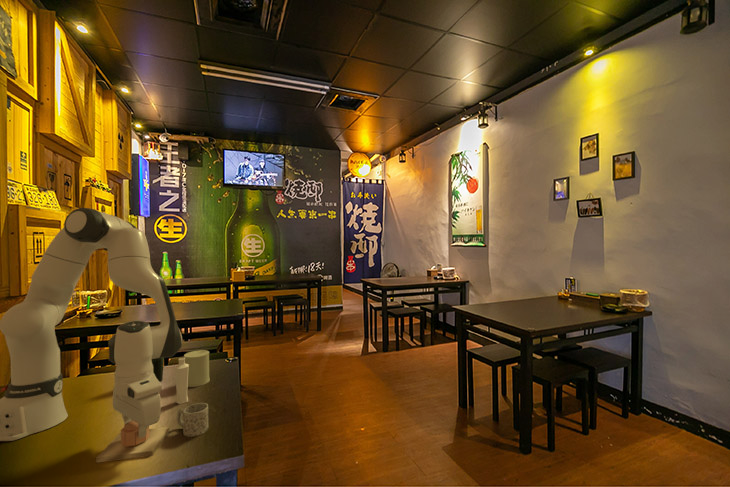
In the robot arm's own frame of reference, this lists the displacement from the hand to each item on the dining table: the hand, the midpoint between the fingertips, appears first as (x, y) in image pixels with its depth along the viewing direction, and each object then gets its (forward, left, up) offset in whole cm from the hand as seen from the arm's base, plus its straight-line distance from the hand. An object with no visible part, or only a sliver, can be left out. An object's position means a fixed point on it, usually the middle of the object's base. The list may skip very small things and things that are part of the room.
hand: (135, 432), depth 93 cm
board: (0, 0, -4) cm, 4 cm away
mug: (+13, +5, -4) cm, 14 cm away
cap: (0, 0, -2) cm, 2 cm away
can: (+4, +43, -4) cm, 43 cm away
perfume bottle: (+4, +26, -4) cm, 27 cm away
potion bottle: (-14, +48, -4) cm, 50 cm away
